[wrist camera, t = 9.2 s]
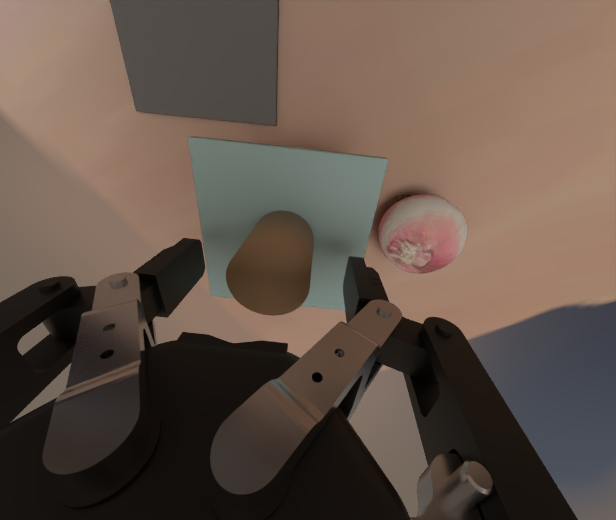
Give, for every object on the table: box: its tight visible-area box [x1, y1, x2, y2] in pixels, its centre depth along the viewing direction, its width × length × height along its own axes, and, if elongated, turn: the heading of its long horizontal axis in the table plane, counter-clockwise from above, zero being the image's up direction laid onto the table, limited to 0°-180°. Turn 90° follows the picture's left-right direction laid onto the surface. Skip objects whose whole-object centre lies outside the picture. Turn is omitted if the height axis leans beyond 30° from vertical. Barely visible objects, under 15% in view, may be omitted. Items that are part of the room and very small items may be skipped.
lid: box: [188, 137, 388, 315], centre depth 13 cm, size 11×11×6 cm
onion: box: [378, 194, 467, 273], centre depth 22 cm, size 8×8×7 cm
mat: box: [110, 0, 279, 126], centre depth 18 cm, size 13×13×1 cm
